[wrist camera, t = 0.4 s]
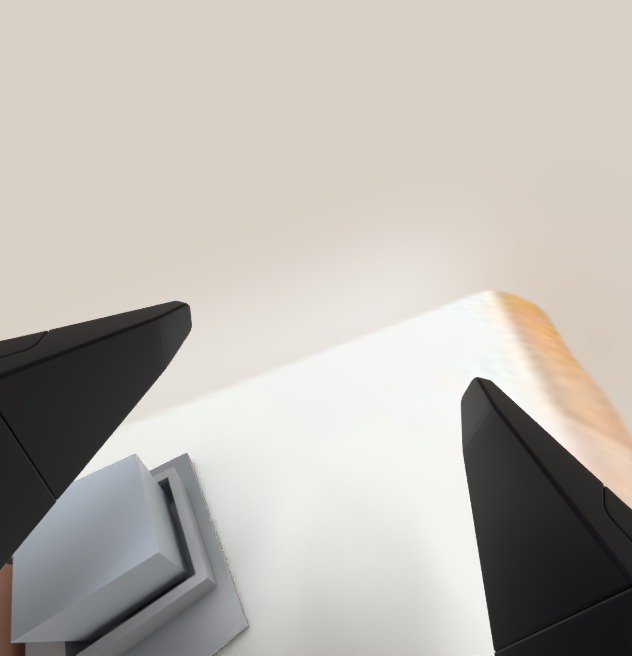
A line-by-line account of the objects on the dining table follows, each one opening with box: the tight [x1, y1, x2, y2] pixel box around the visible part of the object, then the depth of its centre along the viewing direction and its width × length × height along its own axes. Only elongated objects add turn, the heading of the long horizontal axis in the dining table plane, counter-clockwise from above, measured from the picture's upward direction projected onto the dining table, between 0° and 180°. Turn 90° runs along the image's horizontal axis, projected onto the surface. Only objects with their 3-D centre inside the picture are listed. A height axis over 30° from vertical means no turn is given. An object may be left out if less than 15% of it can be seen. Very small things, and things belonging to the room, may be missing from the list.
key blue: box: [11, 454, 189, 643], centre depth 13 cm, size 4×4×6 cm
